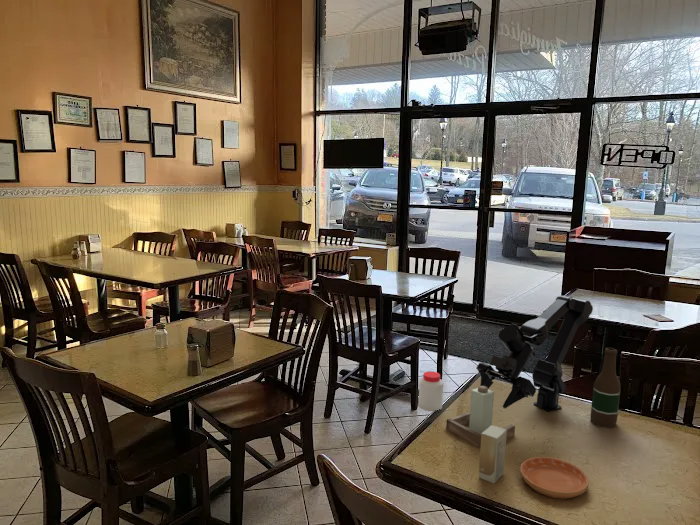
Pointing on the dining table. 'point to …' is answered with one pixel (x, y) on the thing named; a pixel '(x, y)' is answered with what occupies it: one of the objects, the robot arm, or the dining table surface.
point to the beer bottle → (606, 393)
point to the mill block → (481, 409)
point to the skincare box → (492, 453)
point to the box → (468, 434)
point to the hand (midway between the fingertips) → (491, 402)
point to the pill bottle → (430, 391)
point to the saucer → (554, 477)
